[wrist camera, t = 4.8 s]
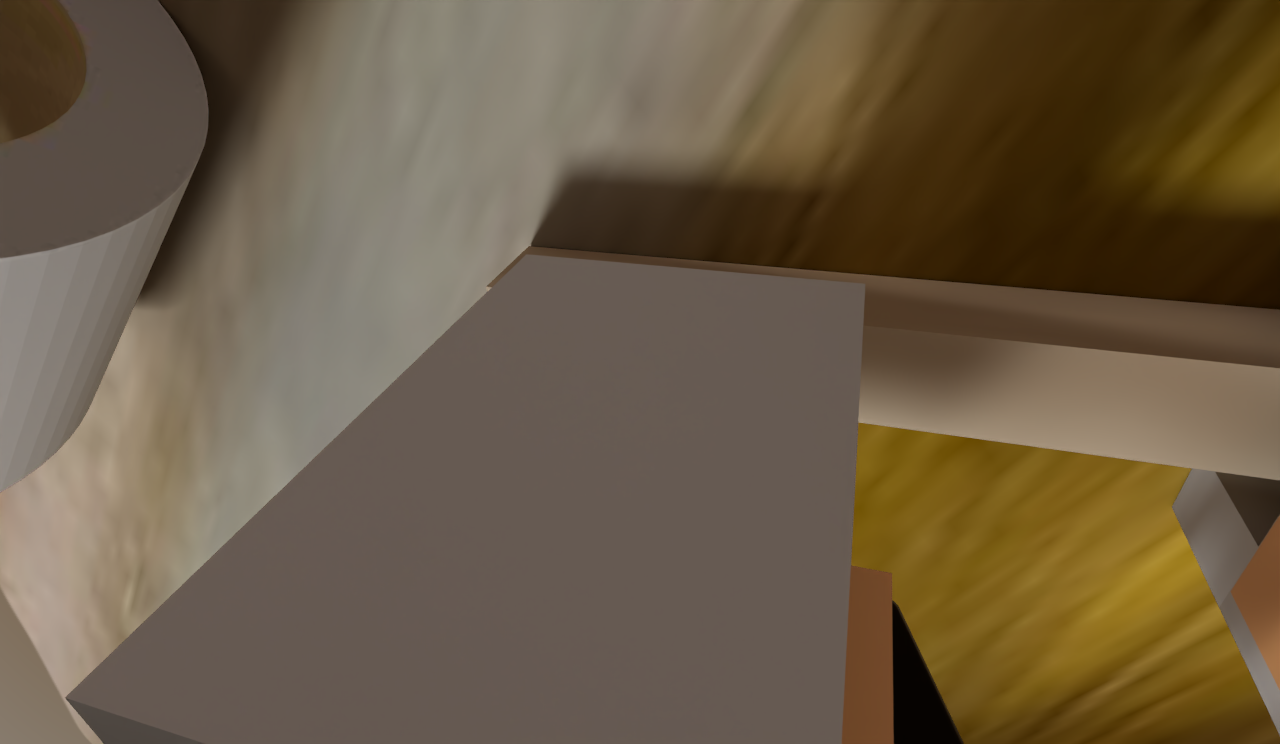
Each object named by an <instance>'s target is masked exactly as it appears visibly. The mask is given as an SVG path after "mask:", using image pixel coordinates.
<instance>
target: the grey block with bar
mask: <svg viewBox="0 0 1280 744" xmlns="http://www.w3.org/2000/svg"><path fill="white" fill-rule="evenodd" d="M526 254H528V255H540V256H551V257H563V258H574V259H586V260H597V261H609V262H620V263H632V264H643V265H655V266H666V267H678V268H689V269H701V270H712V271H724V272H735V273H747V274H758V275H770V276H781V277H793V278H804V279H816V280H827V281H839V282H850V283H862V284H865V302H864V321H863V340H862V360H861V379H860V398H859V417H858V422H860V423H867V424H875V425H882V426H889V427H896V428H904V429H911V430H918V431H925V432H932V433H940V434H947V435H954V436H961V437H969V438H976V439H983V440H990V441H998V442H1005V443H1012V444H1019V445H1027V446H1034V447H1041V448H1048V449H1056V450H1063V451H1070V452H1077V453H1085V454H1092V455H1099V456H1106V457H1114V458H1121V459H1128V460H1135V461H1143V462H1150V463H1157V464H1164V465H1172V466H1179V467H1186V468H1192V470H1191V472H1190V474H1189V476H1188V478H1187V479H1186V481H1185V483H1184V485H1183V487H1182V489H1181V491H1180V493H1179V495H1178V497H1177V499H1176V500H1175V502H1174V504H1173V506H1172V508H1173V510H1174V513H1175V515H1176V517H1177V519H1178V521H1179V523H1180V525H1181V527H1182V530H1183V532H1184V534H1185V536H1186V538H1187V540H1188V542H1189V544H1190V546H1191V549H1192V551H1193V553H1194V555H1195V557H1196V559H1197V561H1198V563H1199V566H1200V568H1201V570H1202V572H1203V574H1204V576H1205V578H1206V580H1207V582H1208V585H1209V587H1210V589H1211V591H1212V593H1213V595H1214V597H1215V599H1216V602H1217V604H1218V606H1219V608H1220V610H1221V612H1222V614H1223V616H1224V618H1225V621H1226V623H1227V625H1228V627H1229V629H1230V631H1231V633H1232V635H1233V638H1234V640H1235V642H1236V644H1237V646H1238V648H1239V650H1240V652H1241V654H1242V657H1243V659H1244V661H1245V663H1246V665H1247V667H1248V669H1249V671H1250V674H1251V676H1252V678H1253V680H1254V682H1255V684H1256V686H1257V688H1258V690H1259V693H1260V695H1261V697H1262V699H1263V701H1264V703H1265V705H1266V707H1267V710H1268V712H1269V714H1270V716H1271V718H1272V720H1273V722H1274V724H1275V727H1276V729H1277V731H1278V733H1279V735H1280V310H1278V309H1266V308H1254V307H1242V306H1230V305H1218V304H1207V303H1195V302H1183V301H1171V300H1159V299H1147V298H1136V297H1124V296H1112V295H1100V294H1088V293H1076V292H1065V291H1053V290H1041V289H1029V288H1017V287H1005V286H993V285H982V284H970V283H958V282H946V281H934V280H922V279H911V278H899V277H887V276H875V275H863V274H851V273H840V272H828V271H816V270H804V269H792V268H780V267H768V266H757V265H745V264H733V263H721V262H709V261H697V260H686V259H674V258H662V257H650V256H638V255H626V254H615V253H603V252H591V251H579V250H567V249H555V248H543V247H532V246H529V247H528V248H527V249H526V250H525V251H523V252H522V253H521V254H520V255H519V256H518V257H517V258H516V259H515V260H514V261H513V262H512V263H511V264H510V265H509V266H508V267H507V268H506V269H504V270H503V271H502V272H501V273H500V274H499V275H498V276H497V277H496V278H495V279H494V280H493V281H492V282H491V283H490V284H489V285H488V286H487V287H486V288H487V292H488V291H489V290H490V289H491V288H492V287H493V286H494V285H495V284H496V283H497V282H498V281H499V280H500V279H501V278H502V277H503V276H504V275H505V274H506V273H508V272H509V271H510V270H511V269H512V268H513V267H514V266H515V265H516V264H517V263H518V262H519V261H520V260H521V259H522V258H523V257H524V256H525V255H526Z"/></svg>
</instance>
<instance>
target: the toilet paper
mask: <svg viewBox="0 0 1280 744" xmlns="http://www.w3.org/2000/svg"><path fill="white" fill-rule="evenodd" d="M208 116H209V109H208V101H207V93H206V89H205V86H204V82H203V78H202V75H201V72H200V70H199V67H198V65H197V62H196V60H195V57H194V55H193V53H192V51H191V49H190V48H189V46H188V44H187V42H186V40H185V38H184V37H183V35H182V34H181V32H180V30H179V29H178V27H177V26H176V24H175V23H174V21H173V20H172V18H171V17H170V16H169V14H168V13H167V12H166V11H165V9H164V8H163V7H162V5H161V4H160V3H159V1H158V0H0V493H1V492H2V491H4V490H6V489H7V488H9V487H11V486H12V485H14V484H16V483H17V482H19V481H21V480H22V479H23V478H25V477H26V476H28V475H29V474H30V473H32V472H33V471H35V470H36V469H37V468H39V467H40V466H41V465H42V464H44V463H45V462H46V461H47V460H48V459H49V458H50V457H51V456H53V455H54V454H55V453H56V452H57V451H58V450H59V449H60V448H61V447H62V446H63V445H64V443H65V442H66V441H67V440H68V439H69V438H70V437H71V435H72V434H73V433H74V431H75V430H76V429H77V427H78V426H79V425H80V423H81V422H82V420H83V418H84V416H85V415H86V413H87V411H88V409H89V407H90V405H91V403H92V401H93V398H94V396H95V394H96V391H97V389H98V387H99V385H100V382H101V380H102V378H103V376H104V373H105V371H106V369H107V367H108V364H109V362H110V360H111V358H112V355H113V353H114V351H115V348H116V346H117V344H118V342H119V339H120V337H121V335H122V333H123V330H124V328H125V326H126V324H127V321H128V319H129V317H130V314H131V312H132V310H133V308H134V305H135V303H136V301H137V299H138V296H139V294H140V292H141V290H142V287H143V285H144V283H145V280H146V278H147V276H148V274H149V271H150V269H151V267H152V265H153V262H154V260H155V258H156V256H157V253H158V251H159V249H160V246H161V244H162V242H163V240H164V237H165V235H166V233H167V231H168V228H169V226H170V224H171V222H172V219H173V217H174V215H175V212H176V210H177V208H178V206H179V203H180V201H181V199H182V197H183V194H184V192H185V190H186V188H187V185H188V183H189V181H190V178H191V176H192V174H193V172H194V169H195V167H196V165H197V163H198V160H199V158H200V155H201V153H202V150H203V148H204V145H205V141H206V136H207V131H208Z"/></svg>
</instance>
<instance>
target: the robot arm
mask: <svg viewBox="0 0 1280 744" xmlns="http://www.w3.org/2000/svg"><path fill="white" fill-rule="evenodd" d="M892 637H893V732H894V744H964V743H963V741H962V738H961V736H960V734H959V732H958V730H957V728H956V726H955V724H954V722H953V720H952V718H951V715H950V713H949V711H948V709H947V707H946V705H945V703H944V701H943V699H942V697H941V694H940V692H939V690H938V688H937V686H936V684H935V682H934V680H933V678H932V676H931V673H930V671H929V669H928V667H927V665H926V663H925V661H924V659H923V657H922V655H921V653H920V650H919V648H918V646H917V644H916V642H915V640H914V638H913V636H912V634H911V632H910V629H909V627H908V625H907V623H906V621H905V619H904V617H903V615H902V613H901V611H900V609H899V607H898V605H897V604H896V603H895V602H894V601H893V600H892Z"/></svg>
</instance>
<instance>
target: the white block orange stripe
mask: <svg viewBox="0 0 1280 744" xmlns="http://www.w3.org/2000/svg"><path fill="white" fill-rule="evenodd" d="M864 302H865V284H862V283H850V282H839V281H827V280H816V279H804V278H793V277H781V276H770V275H758V274H747V273H735V272H724V271H712V270H701V269H689V268H678V267H666V266H655V265H643V264H632V263H620V262H609V261H597V260H586V259H574V258H563V257H551V256H540V255H528V254H526V255H525V256H524V257H523V258H522V259H521V260H520V261H519V262H518V263H517V264H516V265H515V266H514V267H513V268H512V269H511V270H510V271H509V272H508V273H506V274H505V275H504V276H503V277H502V278H501V279H500V280H499V281H498V282H497V283H496V284H495V285H494V286H493V287H492V288H491V289H490V290H489V291H488V292H487V293H486V294H485V295H484V296H483V297H482V298H480V299H479V300H478V301H477V302H476V303H475V304H474V305H473V306H472V307H471V308H470V309H469V310H468V311H467V312H466V313H465V314H464V315H463V316H462V317H461V318H460V319H459V320H458V321H457V322H456V323H454V324H453V325H452V326H451V327H450V328H449V329H448V330H447V331H446V332H445V333H444V334H443V335H442V336H441V337H440V338H439V339H438V340H437V341H436V342H435V343H434V344H433V345H432V346H431V347H429V348H428V349H427V350H426V351H425V352H424V353H423V354H422V355H421V356H420V357H419V358H418V359H417V360H416V361H415V362H414V363H413V364H412V365H411V366H410V367H409V368H408V369H407V370H406V371H405V372H403V373H402V374H401V375H400V376H399V377H398V378H397V379H396V380H395V381H394V382H393V383H392V384H391V385H390V386H389V387H388V388H387V389H386V390H385V391H384V392H383V393H382V394H381V395H380V396H378V397H377V398H376V399H375V400H374V401H373V402H372V403H371V404H370V405H369V406H368V407H367V408H366V409H365V410H364V411H363V412H362V413H361V414H360V415H359V416H358V417H357V418H356V419H355V420H354V421H352V422H351V423H350V424H349V425H348V426H347V427H346V428H345V429H344V430H343V431H342V432H341V433H340V434H339V435H338V436H337V437H336V438H335V439H334V440H333V441H332V442H331V443H330V444H329V445H328V446H326V447H325V448H324V449H323V450H322V451H321V452H320V453H319V454H318V455H317V456H316V457H315V458H314V459H313V460H312V461H311V462H310V463H309V464H308V465H307V466H306V467H305V468H304V469H303V470H301V471H300V472H299V473H298V474H297V475H296V476H295V477H294V478H293V479H292V480H291V481H290V482H289V483H288V484H287V485H286V486H285V487H284V488H283V489H282V490H281V491H280V492H279V493H278V494H277V495H275V496H274V497H273V498H272V499H271V500H270V501H269V502H268V503H267V504H266V505H265V506H264V507H263V508H262V509H261V510H260V511H259V512H258V513H257V514H256V515H255V516H254V517H253V518H252V519H250V520H249V521H248V522H247V523H246V524H245V525H244V526H243V527H242V528H241V529H240V530H239V531H238V532H237V533H236V534H235V535H234V536H233V537H232V538H231V539H230V540H229V541H228V542H227V543H226V544H224V545H223V546H222V547H221V548H220V549H219V550H218V551H217V552H216V553H215V554H214V555H213V556H212V557H211V558H210V559H209V560H208V561H207V562H206V563H205V564H204V565H203V566H202V567H201V568H200V569H198V570H197V571H196V572H195V573H194V574H193V575H192V576H191V577H190V578H189V579H188V580H187V581H186V582H185V583H184V584H183V585H182V586H181V587H180V588H179V589H178V590H177V591H176V592H175V593H173V594H172V595H171V596H170V597H169V598H168V599H167V600H166V601H165V602H164V603H163V604H162V605H161V606H160V607H159V608H158V609H157V610H156V611H155V612H154V613H153V614H152V615H151V616H150V617H149V618H147V619H146V620H145V621H144V622H143V623H142V624H141V625H140V626H139V627H138V628H137V629H136V630H135V631H134V632H133V633H132V634H131V635H130V636H129V637H128V638H127V639H126V640H125V641H124V642H122V643H121V644H120V645H119V646H118V647H117V648H116V649H115V650H114V651H113V652H112V653H111V654H110V655H109V656H108V657H107V658H106V659H105V660H104V661H103V662H102V663H101V664H100V665H99V666H98V667H96V668H95V669H94V670H93V671H92V672H91V673H90V674H89V675H88V676H87V677H86V678H85V679H84V680H83V681H82V682H81V683H80V684H79V685H78V686H77V687H76V688H75V689H74V690H73V691H71V692H70V693H69V694H68V695H67V696H66V697H65V698H66V699H67V701H68V702H69V703H70V704H71V705H72V706H73V708H74V709H75V710H76V711H77V712H78V714H79V715H80V716H81V717H82V718H83V719H84V721H85V722H86V723H87V724H88V725H89V726H90V728H91V729H92V730H93V731H94V732H95V734H96V735H97V736H98V737H99V738H100V739H101V741H102V742H103V743H104V744H894V732H893V637H892V573H888V572H882V571H877V570H872V569H866V568H861V567H856V566H851V552H852V533H853V513H854V494H855V475H856V456H857V436H858V417H859V398H860V379H861V360H862V340H863V321H864Z"/></svg>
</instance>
